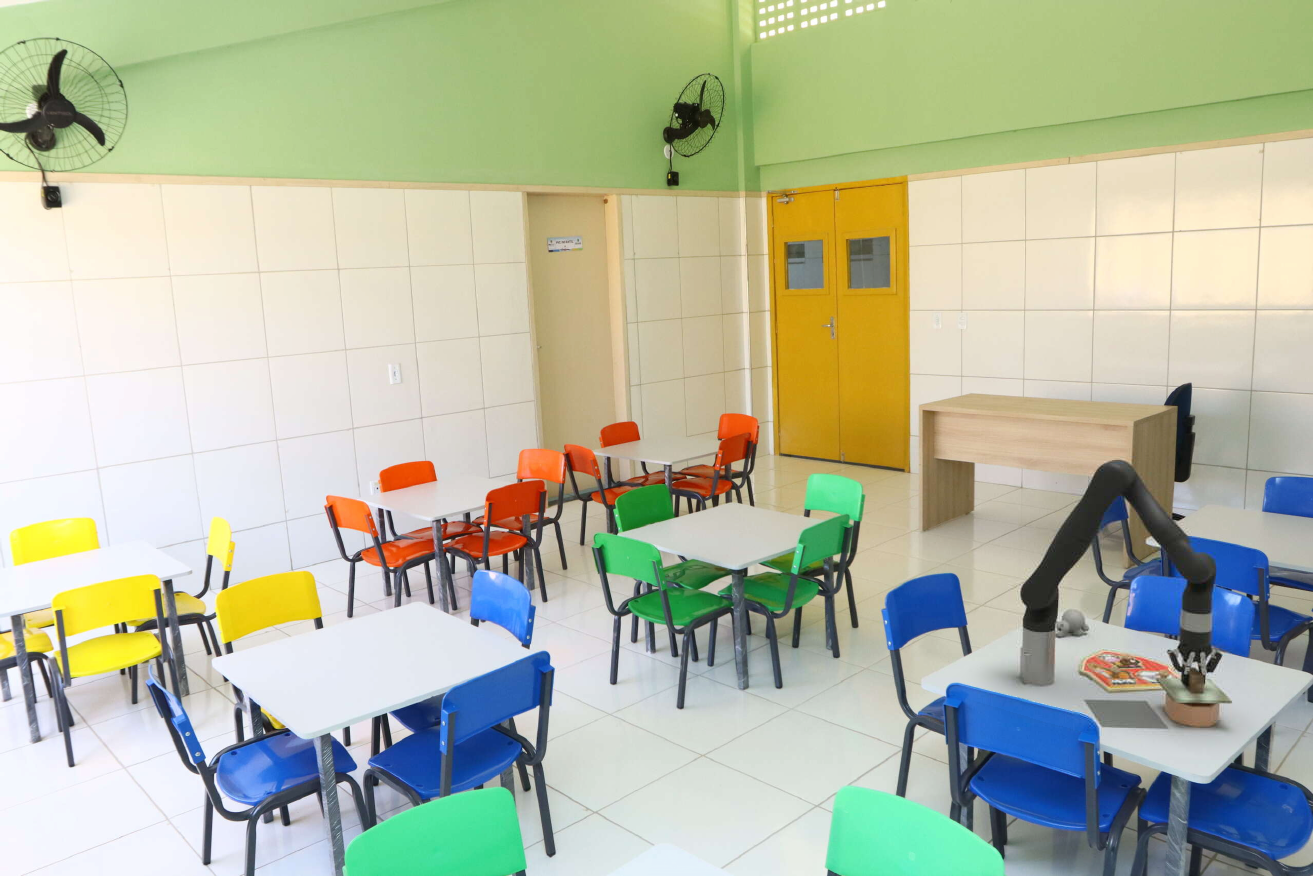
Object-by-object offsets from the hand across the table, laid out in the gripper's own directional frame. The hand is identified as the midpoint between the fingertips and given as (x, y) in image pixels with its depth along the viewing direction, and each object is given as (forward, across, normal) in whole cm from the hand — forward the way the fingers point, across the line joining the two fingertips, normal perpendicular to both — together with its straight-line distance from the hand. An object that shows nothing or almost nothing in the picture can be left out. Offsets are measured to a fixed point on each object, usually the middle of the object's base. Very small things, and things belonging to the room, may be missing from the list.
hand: (1193, 685), depth 257 cm
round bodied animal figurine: (+10, -16, +62) cm, 64 cm away
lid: (+2, 0, 0) cm, 2 cm away
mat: (+10, -17, +1) cm, 20 cm away
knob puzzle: (+10, -7, +31) cm, 33 cm away
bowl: (+10, 0, 0) cm, 10 cm away
